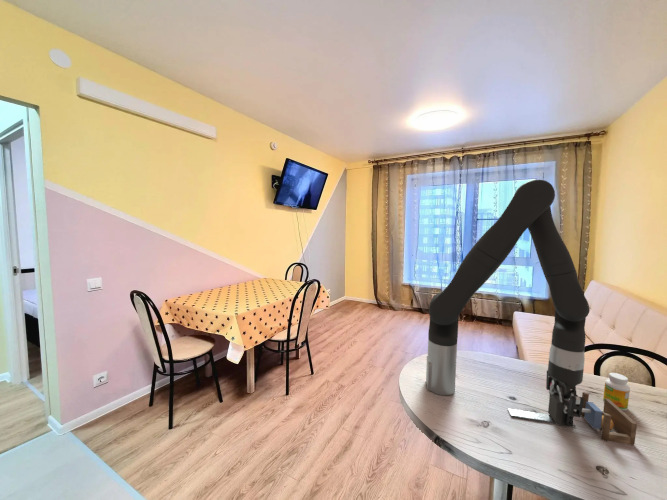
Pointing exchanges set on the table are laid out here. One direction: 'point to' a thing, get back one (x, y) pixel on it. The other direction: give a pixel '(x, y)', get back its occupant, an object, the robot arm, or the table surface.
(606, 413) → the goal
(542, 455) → the table surface
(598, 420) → the rod
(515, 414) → the rail
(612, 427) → the ball
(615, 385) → the supplement bottle
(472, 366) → the table surface
